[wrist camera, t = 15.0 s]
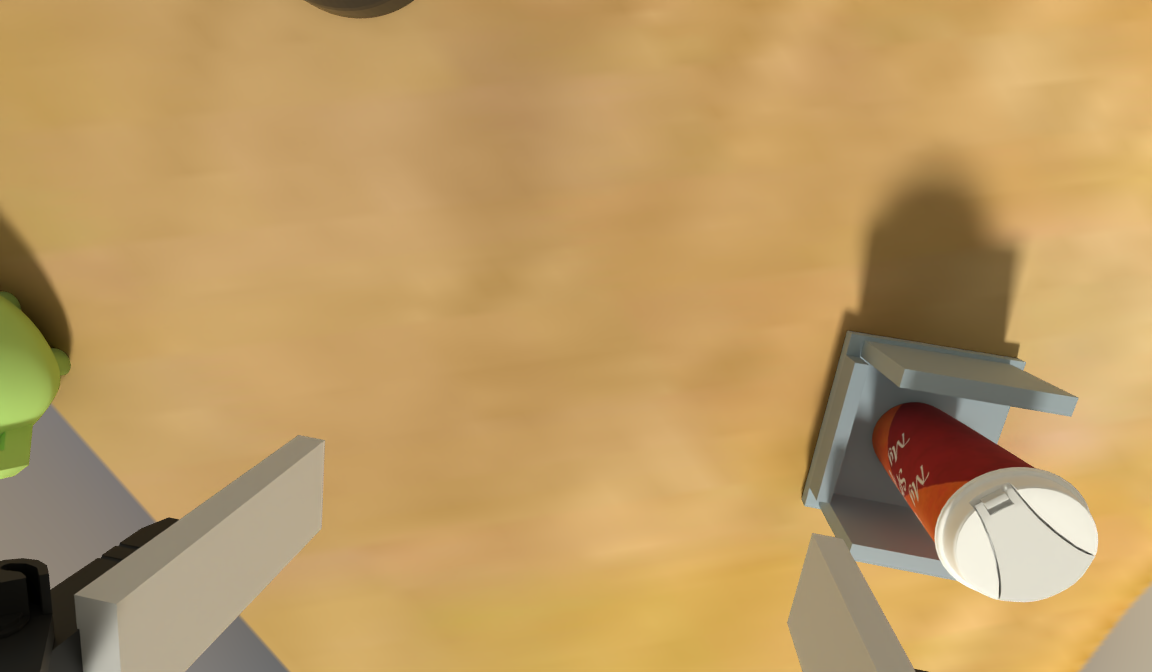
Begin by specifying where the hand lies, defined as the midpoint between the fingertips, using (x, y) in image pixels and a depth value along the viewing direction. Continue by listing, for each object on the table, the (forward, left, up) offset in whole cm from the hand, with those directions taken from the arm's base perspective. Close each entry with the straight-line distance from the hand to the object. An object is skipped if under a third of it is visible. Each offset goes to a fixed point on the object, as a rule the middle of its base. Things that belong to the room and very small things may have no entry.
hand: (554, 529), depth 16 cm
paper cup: (+6, +23, -30) cm, 38 cm away
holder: (+6, +23, -31) cm, 39 cm away
